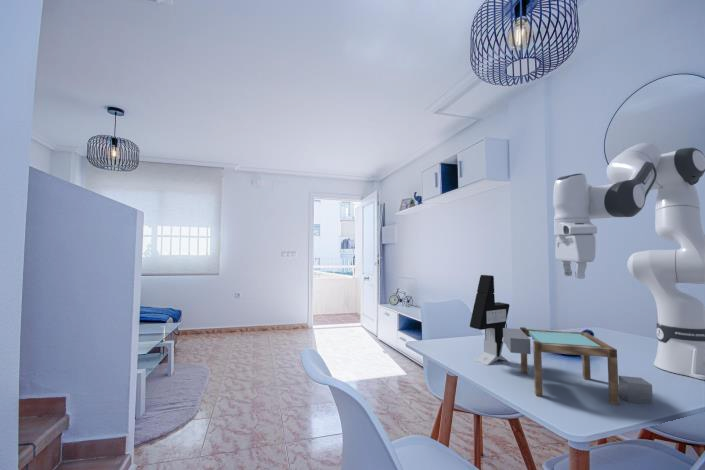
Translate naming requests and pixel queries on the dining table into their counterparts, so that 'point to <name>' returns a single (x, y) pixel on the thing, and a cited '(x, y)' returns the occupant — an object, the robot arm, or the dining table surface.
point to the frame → (575, 350)
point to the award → (489, 320)
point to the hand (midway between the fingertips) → (573, 277)
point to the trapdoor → (541, 339)
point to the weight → (635, 390)
